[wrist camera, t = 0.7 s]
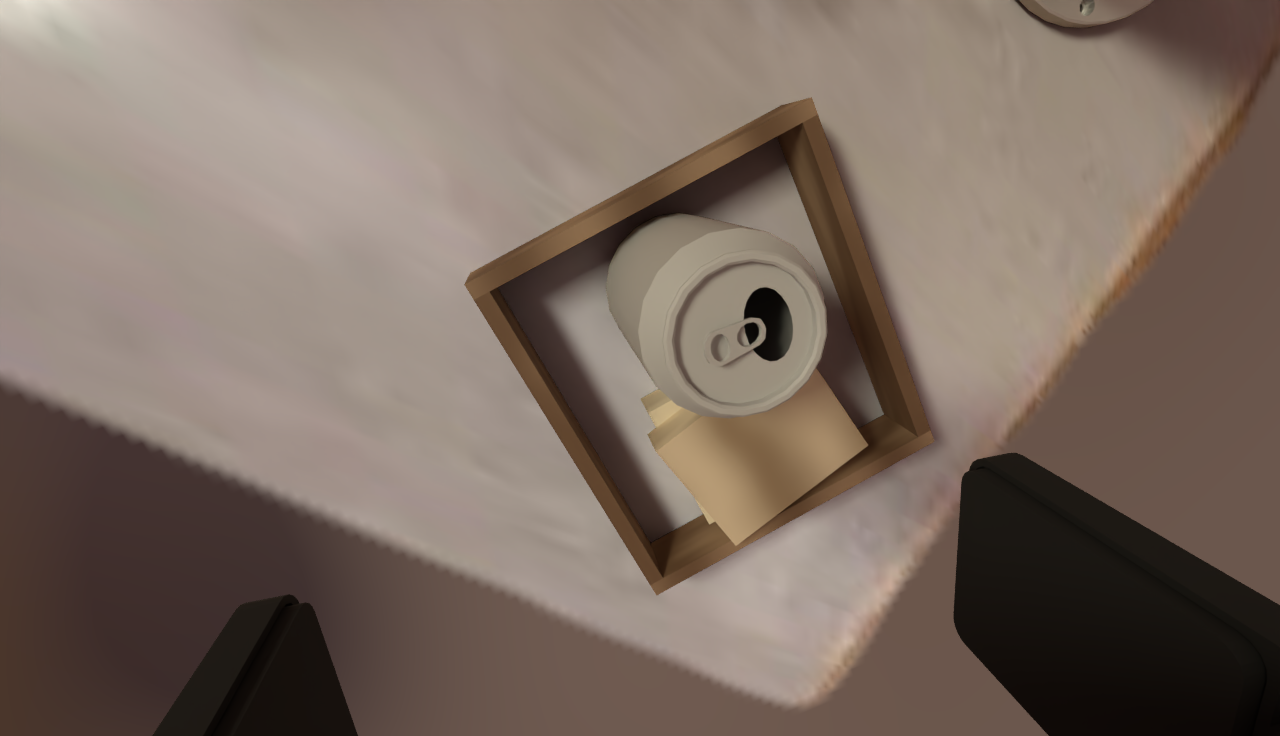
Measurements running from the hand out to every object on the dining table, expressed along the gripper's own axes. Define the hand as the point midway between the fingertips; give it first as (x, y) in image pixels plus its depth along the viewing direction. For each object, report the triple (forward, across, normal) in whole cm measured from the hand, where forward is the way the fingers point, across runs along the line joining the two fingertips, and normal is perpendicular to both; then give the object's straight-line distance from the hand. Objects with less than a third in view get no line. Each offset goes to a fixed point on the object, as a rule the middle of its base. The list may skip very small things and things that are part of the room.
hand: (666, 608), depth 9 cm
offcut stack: (+25, -9, +9) cm, 28 cm away
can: (+26, -6, +1) cm, 26 cm away
